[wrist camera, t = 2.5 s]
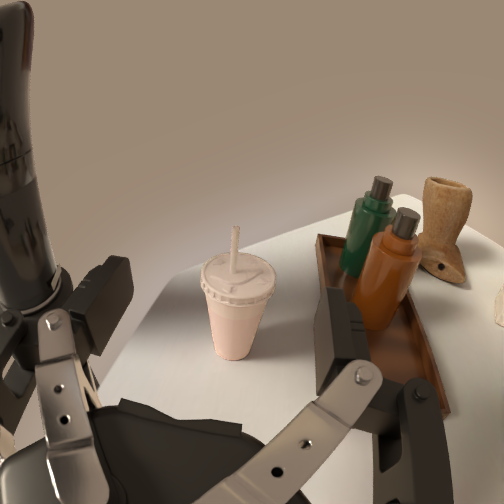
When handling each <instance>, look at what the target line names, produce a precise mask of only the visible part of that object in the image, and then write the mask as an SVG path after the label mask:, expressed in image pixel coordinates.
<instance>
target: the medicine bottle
mask: <svg viewBox="0 0 504 504" xmlns="http://www.w3.org/2000/svg"><path fill="white" fill-rule="evenodd" d="M495 321H496V323H497V324H499V325H501V326H503V327H504V285H503V286H502V288H501V290H500V292H499V293H498V295H497V297H496V299H495Z"/></svg>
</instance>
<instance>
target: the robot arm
mask: <svg viewBox="0 0 504 504" xmlns="http://www.w3.org/2000/svg"><path fill="white" fill-rule="evenodd" d="M33 39H34V15H33V11H32V8H31V6H30V5H29V4H28V3H27V2H25V1H17V2H12V3H8V4H5V5H2V6H0V306H1V308H2V310H3V311H4V312H2V313H1V314H0V504H311V503H310V501H309V500H308V499H307V498H306V496H305V495H304V494H303V493H302V491H301V490H300V488H301V487H302V486H303V485H304V484H305V483H306V482H307V481H308V480H309V479H310V478H311V476H312V475H313V474H314V473H315V472H316V471H317V470H318V469H319V467H320V466H321V465H322V464H323V463H324V462H325V461H326V459H327V458H328V457H329V456H330V455H331V453H332V452H333V451H334V450H335V449H336V447H337V446H338V445H339V444H340V442H341V441H342V440H343V439H344V437H345V436H346V435H347V433H348V432H349V431H350V429H351V428H352V427H353V428H356V429H359V430H362V431H366V432H369V433H372V441H373V504H454V499H453V487H452V477H451V468H450V461H449V453H448V447H447V440H446V435H445V429H444V423H443V418H442V413H441V408H440V403H439V399H438V394H437V391H436V389H435V387H434V386H433V385H432V384H431V383H430V382H429V381H427V380H425V379H423V378H412V379H410V380H409V381H407V382H406V384H401V383H398V382H395V381H392V380H389V379H386V378H384V377H383V376H382V373H381V371H380V370H379V368H378V367H377V366H376V365H374V364H373V363H372V361H371V356H370V351H369V346H368V342H367V337H366V332H365V328H364V324H363V319H362V314H361V311H360V310H359V309H358V307H357V306H356V305H355V303H354V302H346V298H345V293H344V289H343V288H335V287H327V286H325V287H324V288H323V291H322V295H321V298H320V301H319V305H318V308H317V311H316V315H315V319H314V345H315V367H316V396H319V397H318V398H317V399H316V400H315V401H311V402H310V403H309V404H308V405H307V406H306V407H305V408H304V409H303V410H302V411H301V412H300V413H299V414H298V415H297V416H296V417H295V418H294V419H293V420H292V421H291V422H290V423H289V424H288V425H287V426H286V427H285V428H284V429H283V430H282V431H280V432H279V433H278V434H277V435H276V436H275V437H274V438H273V439H272V440H271V441H270V442H269V443H268V444H267V445H264V444H263V443H262V442H261V441H259V440H258V439H256V438H255V437H253V436H251V435H249V434H246V433H244V432H241V431H242V424H238V423H231V422H225V421H219V420H213V419H202V420H177V419H174V418H172V417H170V416H168V415H166V414H164V413H162V412H160V411H158V410H156V409H154V408H152V407H150V406H148V405H144V404H141V403H137V402H134V401H130V400H127V399H123V398H121V400H120V402H119V405H115V406H105V407H102V405H101V403H100V400H99V397H98V394H97V391H96V387H95V383H94V380H93V376H92V372H91V368H90V364H89V361H88V357H89V356H90V354H94V355H97V356H101V354H102V352H103V350H104V348H105V347H106V345H107V343H108V341H109V339H110V337H111V336H112V334H113V332H114V330H115V328H116V326H117V325H118V323H119V321H120V319H121V317H122V316H123V314H124V312H125V311H126V309H127V307H128V305H129V304H130V302H131V300H132V297H133V292H134V286H133V280H132V274H131V268H130V262H129V259H128V258H126V257H120V256H114V255H111V256H109V257H108V259H107V260H106V261H105V263H104V264H103V265H98V266H97V267H95V268H94V269H92V270H91V271H89V272H88V274H87V275H86V276H85V277H84V279H83V281H81V283H80V284H79V285H78V287H77V288H76V289H75V290H74V291H73V293H72V294H71V295H70V297H69V298H68V299H67V301H66V302H65V303H64V305H63V306H62V307H61V309H52V310H50V311H47V312H46V313H44V314H43V315H42V316H41V318H40V319H24V317H27V316H31V315H34V314H37V313H39V312H41V311H42V310H44V309H46V308H47V307H48V306H50V305H51V304H52V303H53V302H54V301H55V300H56V298H57V297H58V295H59V294H60V291H61V288H62V280H61V276H60V273H61V271H62V270H61V267H60V264H59V266H58V268H57V266H56V263H55V259H54V255H53V251H52V247H51V244H50V240H49V235H48V231H47V227H46V223H45V218H44V214H43V209H42V204H41V200H40V194H39V188H38V182H37V176H36V171H35V163H34V155H33V147H32V138H31V121H30V72H31V60H32V50H33ZM11 356H13V358H14V359H15V360H14V362H13V364H12V365H11V367H10V369H9V371H8V372H7V374H6V376H5V378H4V380H3V378H2V372H3V369H4V367H5V366H6V364H7V362H8V361H9V359H10V357H11ZM36 385H37V393H38V400H39V407H40V413H41V419H42V424H43V430H44V435H45V437H44V438H42V439H40V440H38V441H37V442H35V443H33V444H31V445H29V446H27V447H26V448H23V449H21V450H20V451H18V452H17V451H16V449H15V447H14V446H15V442H14V438H13V436H14V433H15V431H16V428H17V426H18V424H19V421H20V419H21V417H22V415H23V412H24V410H25V408H26V406H27V404H28V402H29V399H30V397H31V395H32V393H33V391H34V389H35V387H36Z"/></svg>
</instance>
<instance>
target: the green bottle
mask: <svg viewBox="0 0 504 504" xmlns="http://www.w3.org/2000/svg"><path fill="white" fill-rule="evenodd" d="M392 185H393V182H392V181H391V180H389V179H388V178H385V177H381V176H375V177H374V182H373V186H372V190H371V191H367V192H365V196H364V198H358V199H357V200H356V201H355V206H354V209H353V213H352V216H351V220H350V224H349V228H348V231H347V235H346V238H345V242H344V245H343V249H342V252H341V256H340V259H339V266H340V268H341V269H342V270H343V271H344V272H345V273H346V274H348V275H350V276H352V277H354V278H358V279H359V276H360V273H361V270H362V267H363V265H364V262H365V259H366V256H367V253H368V250H369V247H370V244H371V241H372V238H373V236H374V235H375V234H376V233H378V232H384V230H385V227H386V226H388V225H393V223H394V220H395V217H396V214H397V212H396V210H395V209H394V208H393V207H392V204H393V200H392V199H391V198H390V197H389V195H390V192H391V189H392Z"/></svg>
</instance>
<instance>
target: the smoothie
mask: <svg viewBox="0 0 504 504" xmlns="http://www.w3.org/2000/svg"><path fill="white" fill-rule="evenodd" d="M239 230H240V227H239V226H233V227H232V239H231V252H230V253H223V254H220V255H217V256H214V257H212V258H211V259H209V260H208V261H207V262H206V263H205V264H204V265H203V267H202V269H201V279H200V282H201V287H202V289H203V291H204V293H206V301H207V306H208V312H209V319H210V325H211V331H212V336H213V342H214V348H215V351H216V353H217V354H218V355H219V356H220V357H222V358H224V359H226V360H231V361H235V360H240V359H242V358H244V357H246V356H247V355H248V353H249V351H250V348H251V345H252V343H253V340H254V337H255V334H256V331H257V329H258V326H259V323H260V320H261V317H262V314H263V312H264V309H265V306H266V303H267V300H268V299H269V298H270V297H271V296H272V295H273V293H274V291H275V282H276V273H275V271H274V269H273V268H272V266H271V265H270V264H269V263H267V262H266V261H265V260H263V259H261V258H259V257H257V256H255V255H251V254H247V253H240V252H238V241H239Z"/></svg>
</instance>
